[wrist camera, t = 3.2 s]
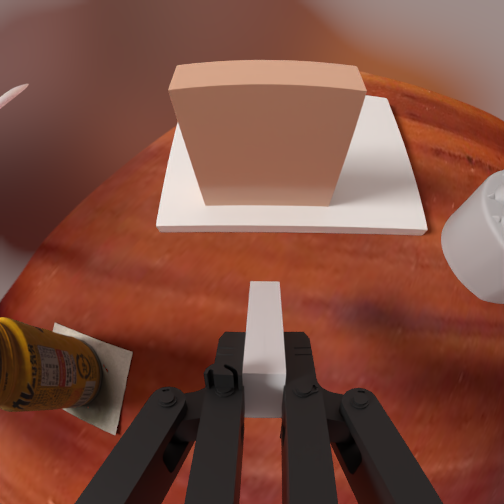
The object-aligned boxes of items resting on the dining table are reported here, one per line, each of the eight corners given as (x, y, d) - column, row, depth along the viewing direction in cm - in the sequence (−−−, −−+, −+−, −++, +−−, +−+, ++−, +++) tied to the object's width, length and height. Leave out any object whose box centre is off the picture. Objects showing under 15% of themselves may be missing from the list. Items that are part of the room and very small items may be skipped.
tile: (325, 179, 25) (355, 64, 14) (328, 206, 24) (366, 91, 13) (208, 179, 25) (177, 63, 14) (205, 205, 24) (167, 90, 13)
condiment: (56, 322, 22) (-44, 284, 11) (133, 352, 22) (32, 329, 10) (41, 396, 20) (-61, 390, 9) (117, 434, 19) (16, 466, 8)
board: (384, 105, 30) (386, 98, 29) (421, 235, 24) (427, 229, 23) (187, 99, 31) (185, 92, 30) (160, 232, 25) (156, 225, 24)
